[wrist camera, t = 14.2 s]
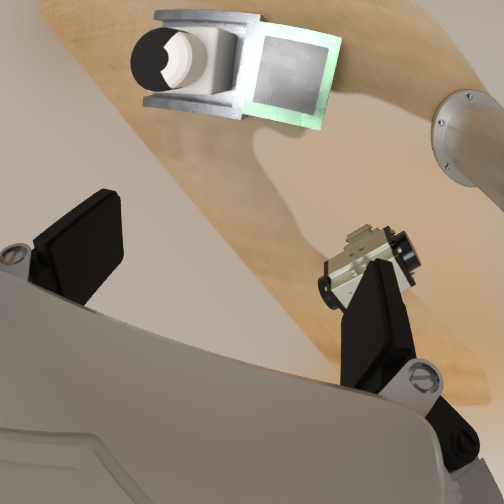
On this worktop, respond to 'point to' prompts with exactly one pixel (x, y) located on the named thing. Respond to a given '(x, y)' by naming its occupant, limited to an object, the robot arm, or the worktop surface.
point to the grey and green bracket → (261, 70)
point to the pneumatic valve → (366, 263)
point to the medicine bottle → (184, 60)
